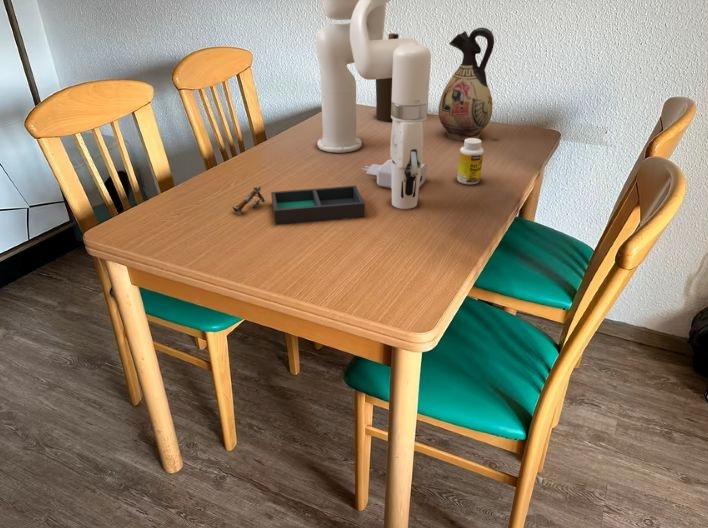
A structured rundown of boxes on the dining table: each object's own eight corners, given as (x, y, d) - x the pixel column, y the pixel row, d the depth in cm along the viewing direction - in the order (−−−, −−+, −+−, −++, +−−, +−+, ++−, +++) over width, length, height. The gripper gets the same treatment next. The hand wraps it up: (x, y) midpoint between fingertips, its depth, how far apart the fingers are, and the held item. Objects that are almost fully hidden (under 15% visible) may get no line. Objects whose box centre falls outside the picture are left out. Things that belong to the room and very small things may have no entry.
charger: (370, 171, 147) (425, 180, 142) (355, 183, 141) (412, 194, 135) (371, 153, 145) (427, 162, 139) (355, 165, 138) (413, 175, 132)
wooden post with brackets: (269, 199, 131) (261, 184, 127) (245, 222, 128) (236, 208, 125) (264, 197, 132) (256, 182, 128) (240, 220, 129) (231, 205, 126)
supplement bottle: (467, 187, 138) (472, 145, 133) (452, 180, 142) (456, 139, 137) (484, 182, 141) (489, 141, 135) (468, 175, 145) (473, 135, 139)
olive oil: (368, 118, 186) (369, 34, 172) (386, 111, 193) (388, 30, 179) (395, 124, 180) (398, 38, 167) (413, 116, 187) (417, 33, 174)
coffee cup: (422, 208, 129) (425, 165, 123) (394, 210, 127) (395, 167, 122) (414, 196, 134) (416, 155, 128) (386, 199, 133) (387, 157, 127)
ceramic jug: (427, 139, 169) (435, 27, 152) (449, 125, 179) (458, 20, 163) (482, 149, 161) (497, 33, 144) (501, 134, 172) (516, 24, 155)
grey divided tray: (272, 204, 130) (271, 191, 129) (355, 198, 133) (355, 185, 131) (275, 224, 122) (274, 210, 120) (364, 216, 125) (364, 203, 123)
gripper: (382, 101, 125) (380, 180, 135) (401, 123, 112) (398, 209, 122) (415, 99, 126) (411, 178, 137) (438, 121, 113) (432, 206, 123)
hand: (405, 192), depth 129 cm, fingers closed on coffee cup, 4 cm apart
